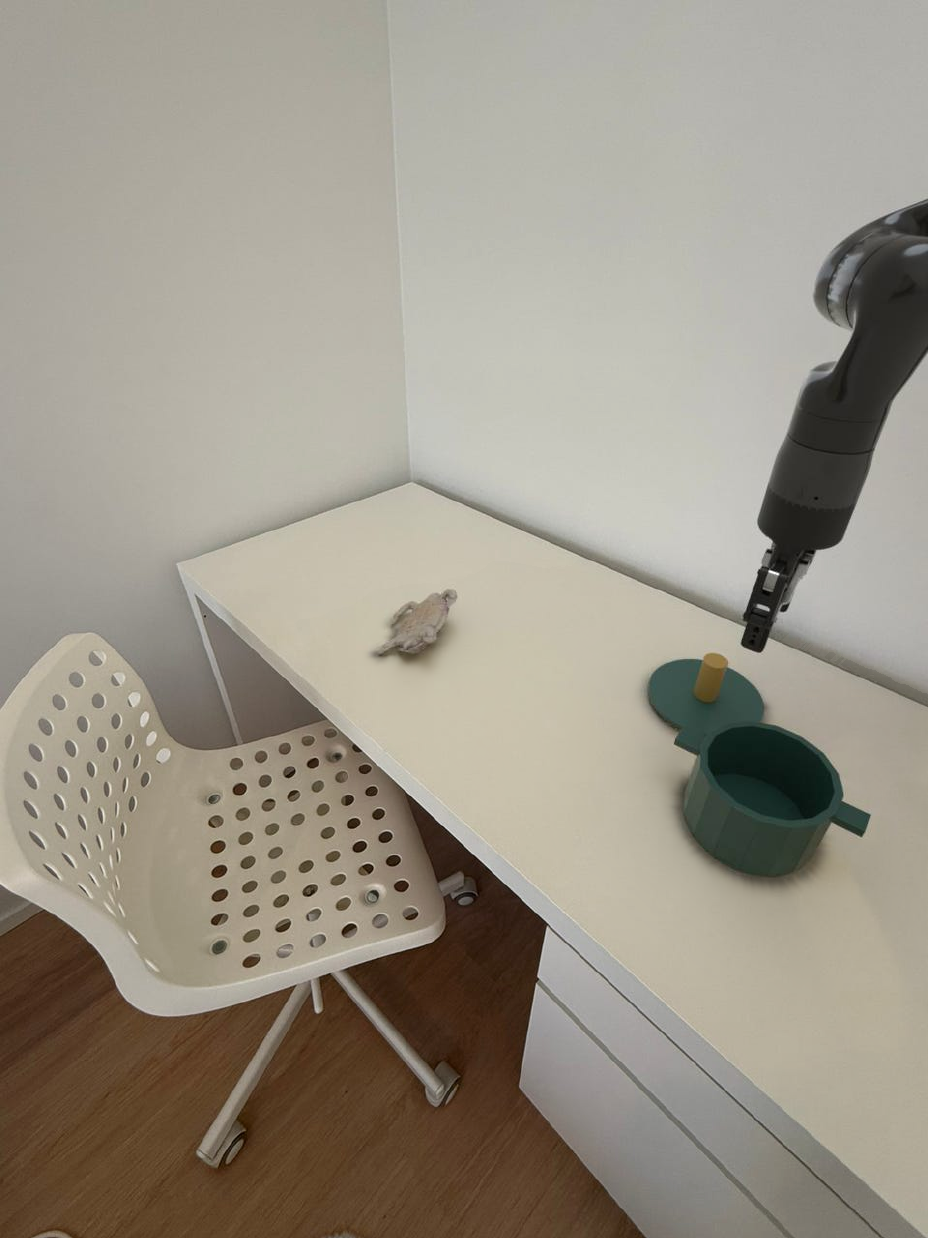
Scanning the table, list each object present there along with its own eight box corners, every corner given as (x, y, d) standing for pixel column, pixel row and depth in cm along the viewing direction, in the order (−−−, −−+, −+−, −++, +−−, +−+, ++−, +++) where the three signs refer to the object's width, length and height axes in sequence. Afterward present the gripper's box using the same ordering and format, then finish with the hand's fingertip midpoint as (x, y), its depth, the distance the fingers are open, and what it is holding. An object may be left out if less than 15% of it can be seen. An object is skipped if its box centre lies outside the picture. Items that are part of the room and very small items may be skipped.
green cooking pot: (689, 743, 80) (704, 693, 75) (855, 824, 71) (886, 773, 66) (640, 816, 72) (653, 765, 66) (822, 919, 62) (854, 870, 57)
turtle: (442, 684, 93) (466, 632, 88) (378, 672, 90) (399, 618, 85) (433, 617, 105) (454, 568, 100) (377, 605, 102) (395, 554, 97)
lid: (674, 651, 94) (684, 612, 90) (776, 694, 87) (793, 653, 83) (628, 707, 85) (636, 666, 81) (738, 761, 78) (754, 719, 73)
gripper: (840, 530, 52) (781, 678, 62) (874, 470, 61) (819, 608, 71) (746, 504, 56) (705, 648, 66) (792, 451, 65) (749, 585, 75)
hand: (764, 627), depth 68 cm, fingers open, 8 cm apart
